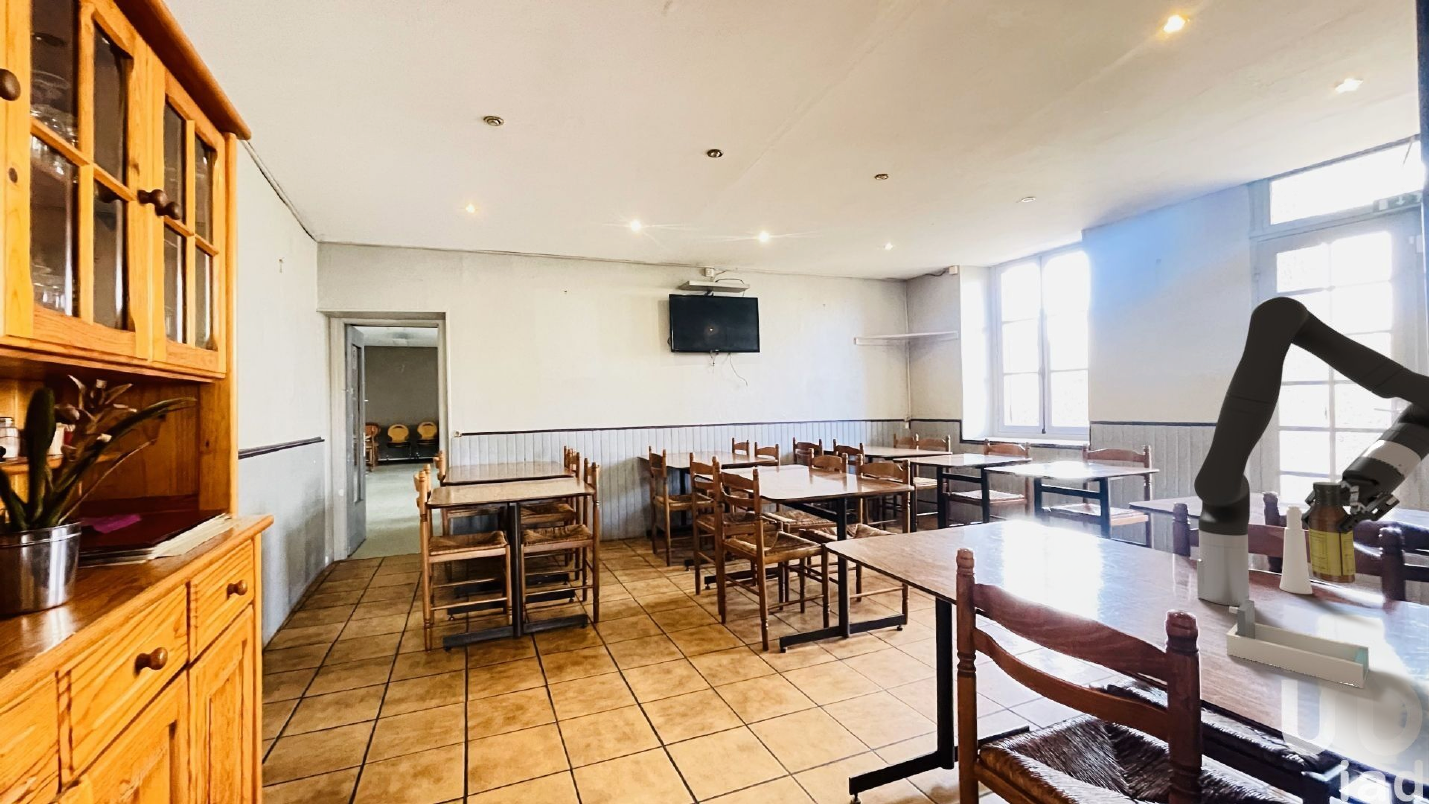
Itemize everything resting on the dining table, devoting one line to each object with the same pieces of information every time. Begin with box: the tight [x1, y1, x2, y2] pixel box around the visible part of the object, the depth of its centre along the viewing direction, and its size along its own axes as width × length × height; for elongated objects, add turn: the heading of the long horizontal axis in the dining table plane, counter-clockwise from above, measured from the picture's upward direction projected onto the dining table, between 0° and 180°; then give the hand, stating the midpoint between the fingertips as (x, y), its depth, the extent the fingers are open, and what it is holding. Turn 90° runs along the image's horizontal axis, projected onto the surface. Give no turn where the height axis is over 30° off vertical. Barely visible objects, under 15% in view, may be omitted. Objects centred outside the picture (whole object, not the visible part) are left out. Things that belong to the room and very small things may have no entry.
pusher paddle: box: [1228, 599, 1256, 639], centre depth 117 cm, size 3×9×8 cm, turn 128°
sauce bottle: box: [1307, 481, 1356, 584], centre depth 117 cm, size 6×6×20 cm
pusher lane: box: [1225, 622, 1370, 690], centre depth 111 cm, size 18×12×4 cm, turn 38°
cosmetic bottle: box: [1279, 504, 1313, 595], centre depth 149 cm, size 6×6×22 cm
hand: (1322, 526), depth 118 cm, fingers closed on sauce bottle, 6 cm apart
